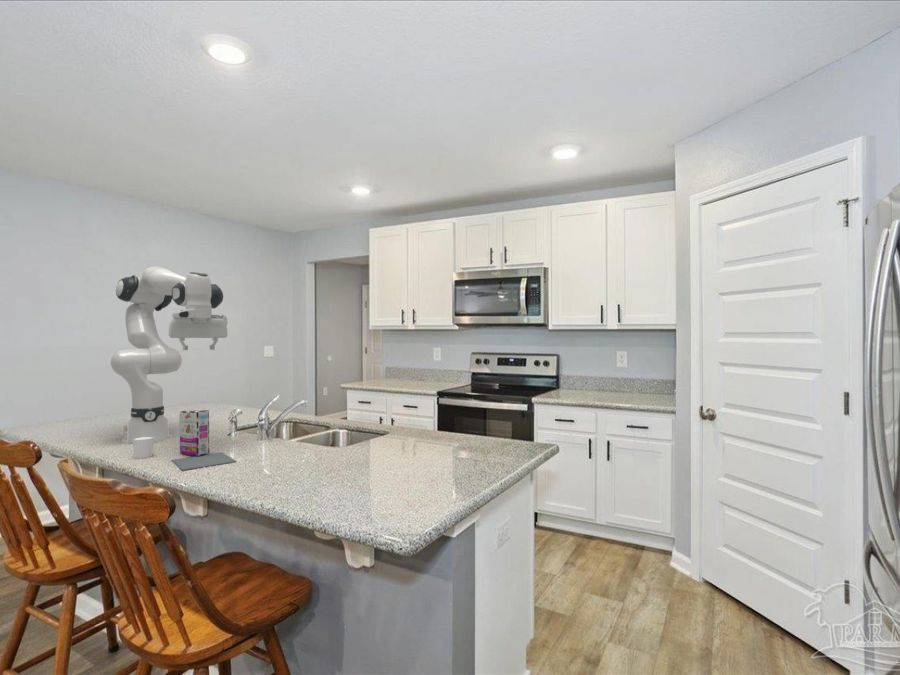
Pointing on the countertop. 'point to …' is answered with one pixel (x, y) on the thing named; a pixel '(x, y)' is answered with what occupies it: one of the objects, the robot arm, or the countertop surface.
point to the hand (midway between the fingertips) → (199, 349)
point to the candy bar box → (194, 432)
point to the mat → (202, 461)
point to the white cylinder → (143, 447)
